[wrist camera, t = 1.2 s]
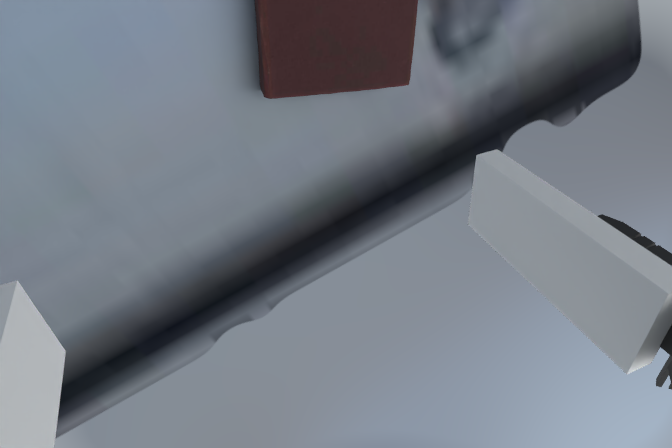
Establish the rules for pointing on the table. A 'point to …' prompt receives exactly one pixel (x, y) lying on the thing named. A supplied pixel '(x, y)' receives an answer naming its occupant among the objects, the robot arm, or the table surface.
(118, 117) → the table surface
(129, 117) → the table surface
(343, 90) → the book
